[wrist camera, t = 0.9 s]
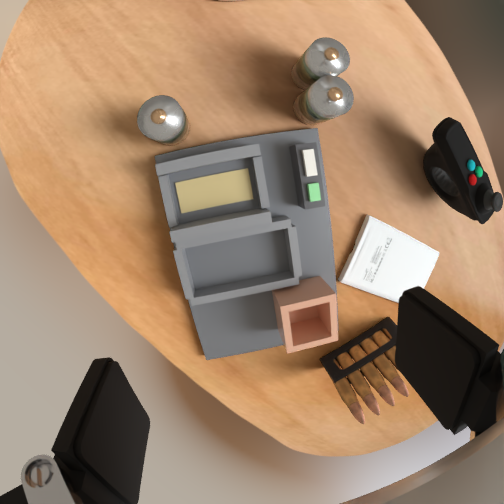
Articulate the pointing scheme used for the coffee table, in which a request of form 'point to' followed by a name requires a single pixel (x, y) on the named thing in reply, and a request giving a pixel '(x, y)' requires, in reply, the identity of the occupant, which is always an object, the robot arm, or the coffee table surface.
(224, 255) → the board
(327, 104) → the cell
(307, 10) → the coffee table surface
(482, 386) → the robot arm
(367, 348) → the ammunition clip
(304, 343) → the pink hollow box
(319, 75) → the cell
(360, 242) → the external hard drive
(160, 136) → the cell
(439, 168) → the controller
